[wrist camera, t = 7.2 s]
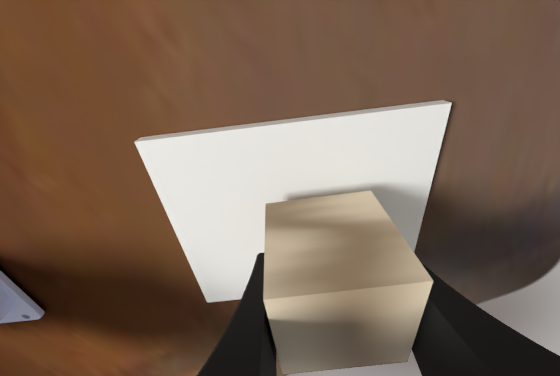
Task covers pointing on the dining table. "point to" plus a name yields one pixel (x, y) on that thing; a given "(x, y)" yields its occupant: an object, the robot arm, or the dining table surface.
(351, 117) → the white mat
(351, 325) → the birch block
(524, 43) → the dining table surface
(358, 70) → the dining table surface
